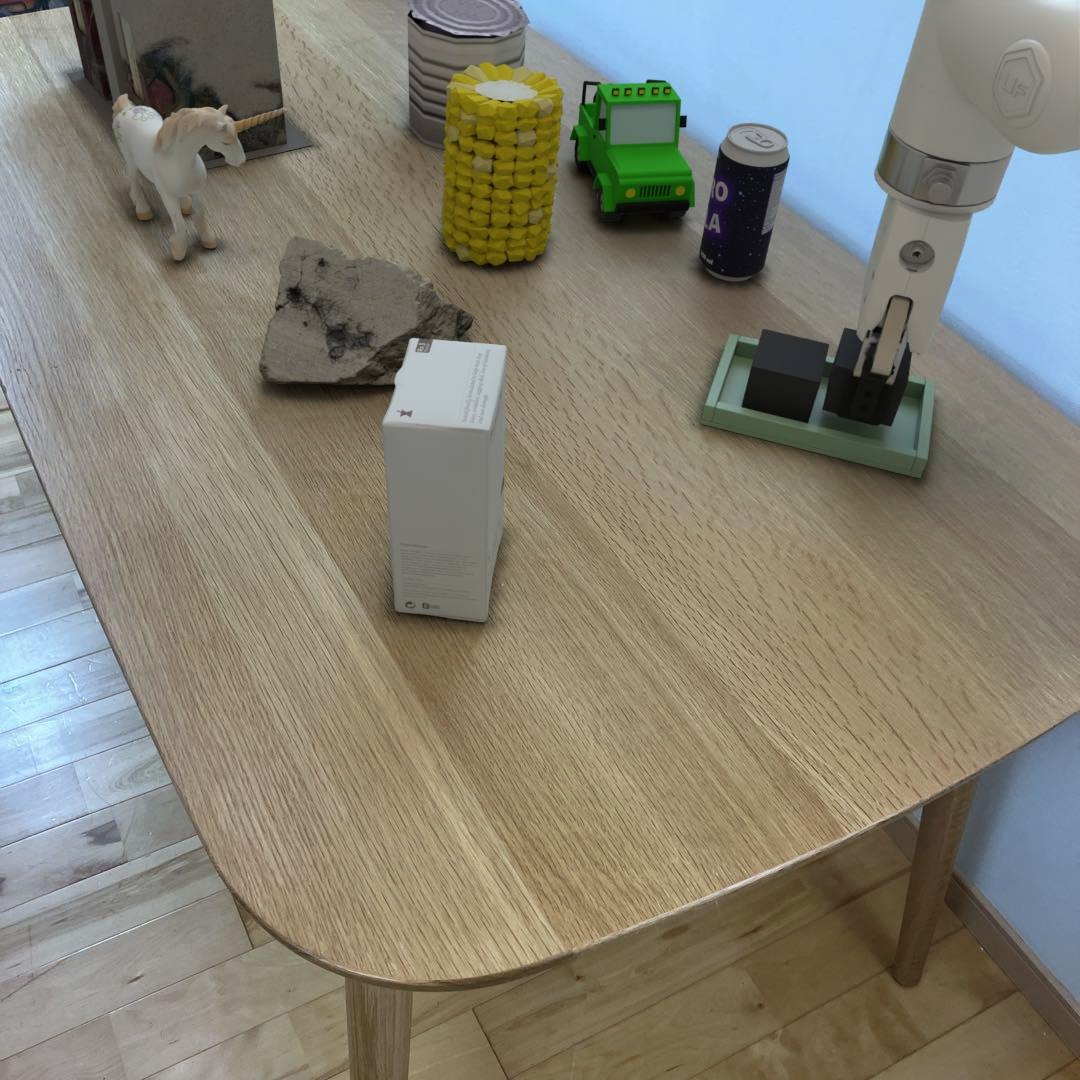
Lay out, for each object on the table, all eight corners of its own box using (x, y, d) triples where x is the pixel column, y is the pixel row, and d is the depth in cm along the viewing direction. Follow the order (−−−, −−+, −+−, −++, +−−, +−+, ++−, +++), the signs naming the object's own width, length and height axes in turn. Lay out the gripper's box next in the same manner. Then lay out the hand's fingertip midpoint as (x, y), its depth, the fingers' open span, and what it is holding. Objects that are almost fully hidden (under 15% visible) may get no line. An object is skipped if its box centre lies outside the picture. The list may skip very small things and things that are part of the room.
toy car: (604, 237, 99) (616, 129, 92) (562, 146, 111) (570, 44, 104) (694, 232, 101) (713, 126, 94) (643, 143, 113) (657, 42, 105)
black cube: (897, 386, 83) (913, 342, 80) (891, 427, 80) (908, 382, 77) (830, 371, 84) (844, 326, 81) (821, 410, 81) (835, 365, 78)
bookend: (152, 181, 101) (115, -7, 90) (66, 73, 115) (24, -101, 103) (313, 145, 108) (297, -34, 96) (213, 47, 122) (189, -119, 110)
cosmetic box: (487, 625, 67) (496, 437, 57) (388, 614, 68) (378, 424, 57) (503, 527, 73) (514, 340, 63) (412, 517, 73) (407, 329, 63)
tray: (929, 399, 86) (936, 381, 85) (920, 478, 79) (927, 459, 78) (725, 351, 89) (729, 332, 87) (700, 423, 82) (704, 404, 81)
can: (444, 92, 118) (444, -29, 109) (541, 120, 115) (549, -2, 106) (387, 135, 110) (382, 9, 102) (489, 165, 107) (493, 38, 99)
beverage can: (728, 244, 100) (755, 114, 91) (775, 273, 97) (808, 141, 89) (683, 263, 97) (707, 131, 89) (730, 293, 94) (759, 160, 86)
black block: (816, 386, 86) (829, 343, 83) (807, 425, 82) (820, 382, 79) (752, 371, 86) (763, 328, 83) (740, 409, 83) (751, 365, 80)
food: (430, 276, 96) (475, 226, 103) (558, 281, 92) (595, 228, 99) (392, 95, 87) (443, 54, 94) (532, 91, 83) (576, 49, 90)
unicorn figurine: (239, 300, 89) (215, 141, 80) (80, 215, 96) (40, 59, 87) (303, 263, 93) (287, 108, 84) (146, 184, 101) (115, 33, 91)
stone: (494, 377, 84) (499, 261, 77) (269, 416, 80) (253, 296, 72) (450, 293, 92) (450, 180, 85) (242, 324, 87) (224, 207, 80)
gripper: (1000, 243, 62) (904, 482, 75) (1006, 117, 74) (922, 344, 87) (866, 214, 64) (794, 455, 77) (892, 95, 75) (826, 322, 88)
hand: (862, 393), depth 82 cm, fingers closed on black cube, 4 cm apart
